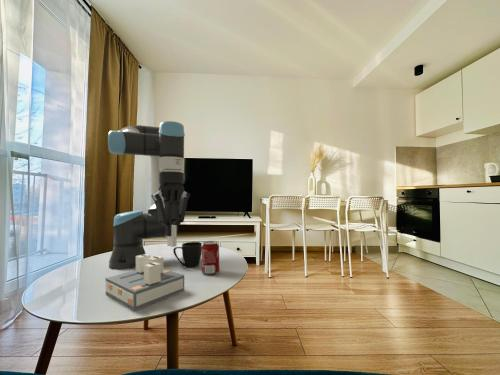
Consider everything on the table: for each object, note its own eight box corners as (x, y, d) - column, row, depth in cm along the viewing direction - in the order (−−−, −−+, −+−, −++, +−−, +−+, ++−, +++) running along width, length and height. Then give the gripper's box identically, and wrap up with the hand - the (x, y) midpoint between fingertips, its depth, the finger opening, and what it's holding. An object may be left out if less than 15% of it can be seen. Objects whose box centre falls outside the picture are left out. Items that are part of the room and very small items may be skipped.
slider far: (135, 271, 80) (135, 255, 80) (145, 268, 82) (145, 253, 83) (140, 272, 78) (140, 256, 78) (150, 270, 81) (150, 254, 81)
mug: (170, 266, 102) (170, 244, 102) (197, 262, 109) (197, 241, 109) (176, 271, 95) (176, 247, 95) (204, 266, 102) (204, 244, 102)
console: (104, 294, 74) (104, 277, 74) (153, 279, 87) (153, 265, 87) (133, 311, 63) (133, 292, 63) (184, 291, 76) (184, 274, 76)
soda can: (215, 276, 89) (215, 244, 90) (198, 275, 91) (198, 243, 91) (221, 270, 96) (221, 240, 96) (205, 269, 97) (205, 240, 98)
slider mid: (148, 273, 77) (148, 257, 77) (158, 271, 80) (158, 255, 80) (153, 275, 75) (153, 259, 75) (163, 272, 78) (163, 256, 78)
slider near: (143, 282, 69) (143, 264, 70) (154, 278, 72) (154, 261, 72) (149, 284, 68) (149, 266, 68) (160, 281, 70) (160, 263, 70)
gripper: (160, 169, 69) (160, 252, 68) (195, 172, 79) (195, 243, 79) (146, 170, 73) (146, 248, 73) (181, 173, 83) (181, 240, 83)
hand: (171, 245), depth 76 cm, fingers closed
